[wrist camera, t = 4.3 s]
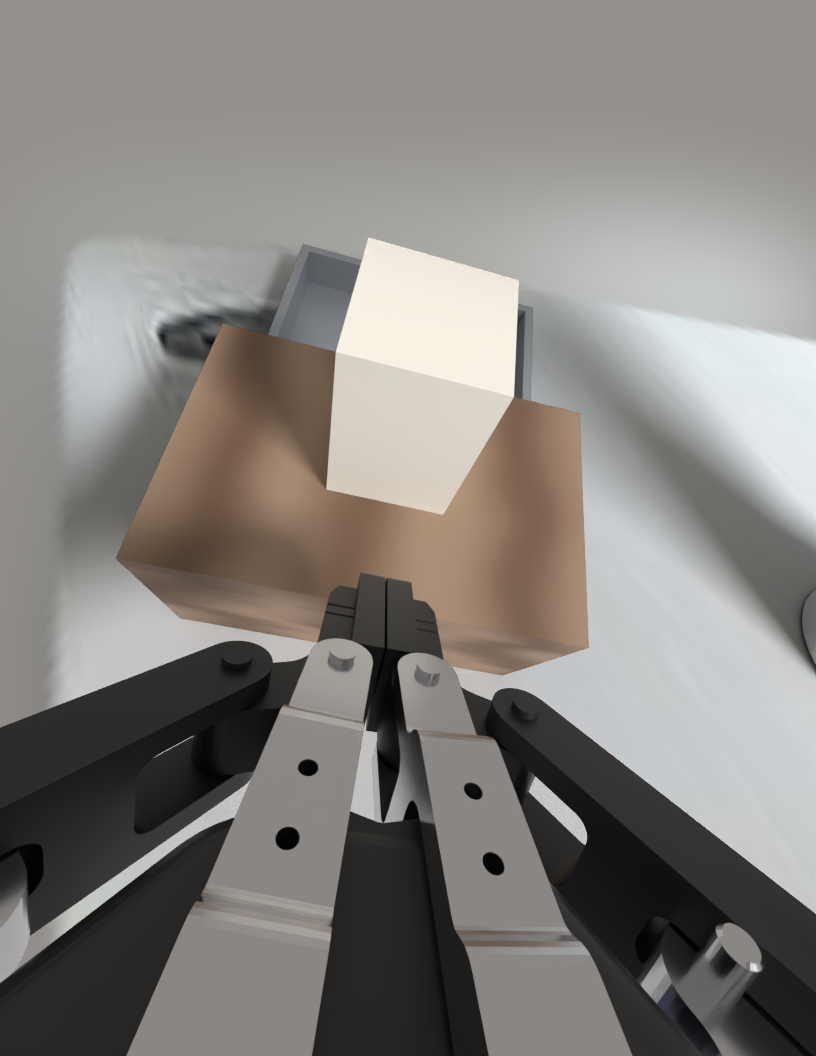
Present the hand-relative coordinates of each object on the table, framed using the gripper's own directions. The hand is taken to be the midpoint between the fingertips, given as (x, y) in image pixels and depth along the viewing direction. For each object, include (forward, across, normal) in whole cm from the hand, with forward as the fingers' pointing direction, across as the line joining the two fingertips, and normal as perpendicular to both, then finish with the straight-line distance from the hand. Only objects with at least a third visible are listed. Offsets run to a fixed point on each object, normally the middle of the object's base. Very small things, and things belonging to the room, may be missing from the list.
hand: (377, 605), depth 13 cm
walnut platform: (+14, 0, +4) cm, 15 cm away
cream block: (+8, 0, -3) cm, 9 cm away
